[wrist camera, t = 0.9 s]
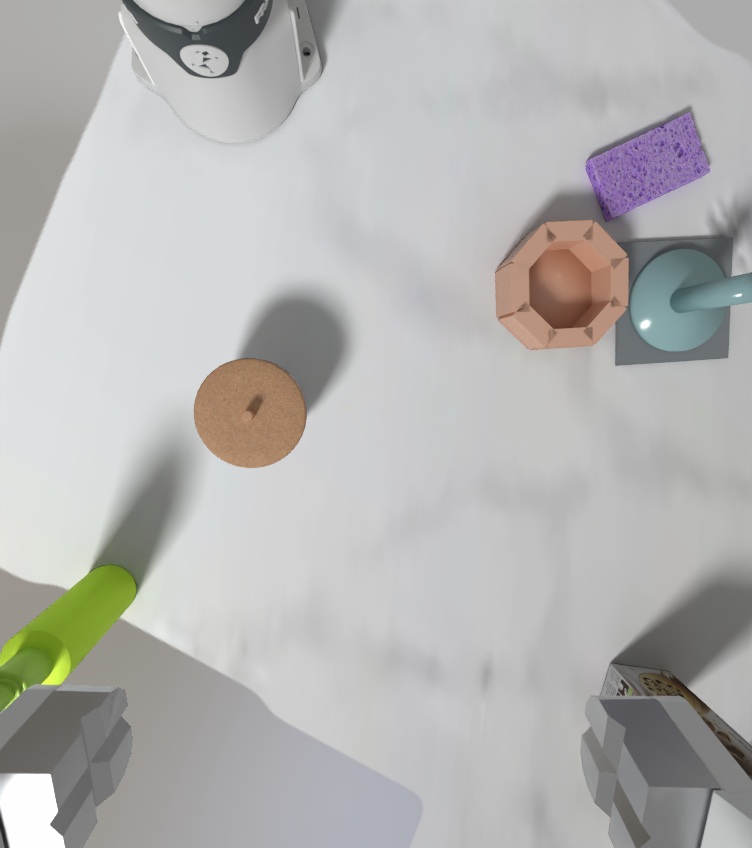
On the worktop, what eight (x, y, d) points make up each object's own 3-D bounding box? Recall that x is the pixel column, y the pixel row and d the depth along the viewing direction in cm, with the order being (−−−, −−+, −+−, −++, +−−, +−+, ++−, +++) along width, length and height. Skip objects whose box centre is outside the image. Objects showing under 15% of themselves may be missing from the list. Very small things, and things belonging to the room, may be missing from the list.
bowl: (494, 236, 51) (509, 223, 46) (604, 231, 52) (629, 218, 47) (497, 352, 52) (512, 350, 48) (603, 345, 53) (627, 343, 49)
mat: (616, 244, 52) (618, 242, 52) (729, 238, 53) (732, 237, 53) (615, 365, 54) (618, 365, 53) (724, 358, 55) (727, 357, 54)
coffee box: (596, 705, 60) (691, 829, 44) (609, 661, 59) (710, 770, 43) (658, 713, 61) (773, 837, 45) (672, 670, 60) (793, 780, 44)
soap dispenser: (67, 576, 52) (-102, 707, 32) (125, 558, 52) (-5, 676, 32) (86, 621, 52) (-66, 776, 33) (144, 603, 53) (28, 745, 33)
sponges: (698, 178, 52) (711, 171, 51) (602, 224, 52) (612, 219, 50) (678, 119, 51) (691, 110, 49) (581, 165, 51) (590, 157, 49)
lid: (628, 253, 52) (697, 226, 42) (722, 248, 53) (811, 221, 43) (627, 354, 53) (693, 352, 43) (719, 348, 54) (804, 344, 44)
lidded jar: (257, 339, 50) (239, 333, 41) (330, 402, 52) (328, 410, 42) (195, 411, 50) (162, 421, 41) (268, 471, 52) (254, 494, 43)
